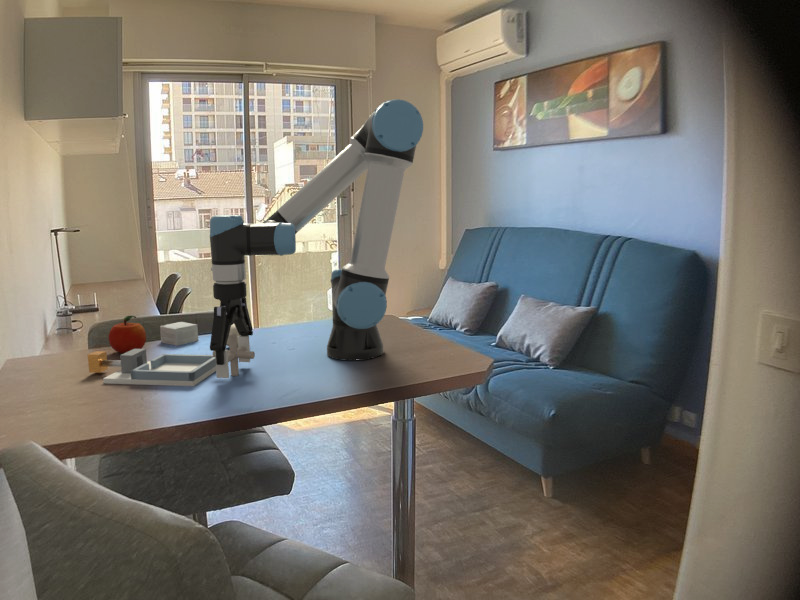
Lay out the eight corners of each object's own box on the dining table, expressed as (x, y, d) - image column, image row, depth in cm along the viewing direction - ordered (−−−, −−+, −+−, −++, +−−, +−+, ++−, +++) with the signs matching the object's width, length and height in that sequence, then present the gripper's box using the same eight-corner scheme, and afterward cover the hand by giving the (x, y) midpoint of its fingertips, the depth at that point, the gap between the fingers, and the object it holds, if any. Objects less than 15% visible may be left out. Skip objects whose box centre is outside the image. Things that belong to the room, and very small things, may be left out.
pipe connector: (245, 382, 146) (242, 340, 144) (205, 379, 148) (202, 338, 146) (262, 369, 156) (260, 330, 154) (225, 368, 158) (223, 329, 156)
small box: (199, 340, 187) (198, 324, 186) (176, 346, 181) (175, 328, 180) (183, 337, 192) (182, 321, 191) (160, 342, 185) (158, 325, 184)
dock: (220, 367, 158) (219, 345, 157) (193, 386, 143) (191, 362, 142) (138, 365, 161) (136, 344, 160) (103, 383, 146) (101, 360, 145)
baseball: (253, 347, 178) (252, 324, 177) (228, 351, 174) (226, 327, 173) (244, 342, 183) (243, 320, 182) (220, 346, 179) (218, 323, 178)
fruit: (101, 354, 172) (98, 318, 170) (128, 346, 181) (125, 312, 179) (128, 358, 168) (125, 321, 167) (154, 349, 177) (151, 314, 175)
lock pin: (139, 369, 155) (138, 352, 154) (132, 373, 151) (130, 355, 151) (97, 368, 156) (95, 351, 155) (89, 372, 153) (87, 354, 152)
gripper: (234, 274, 161) (238, 355, 164) (190, 289, 136) (196, 384, 140) (263, 274, 160) (266, 356, 163) (223, 290, 135) (228, 385, 139)
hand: (234, 369), depth 152 cm, fingers open, 13 cm apart
